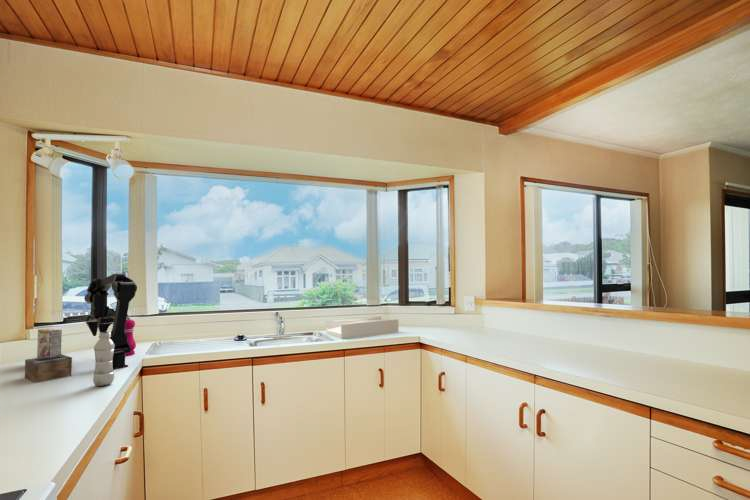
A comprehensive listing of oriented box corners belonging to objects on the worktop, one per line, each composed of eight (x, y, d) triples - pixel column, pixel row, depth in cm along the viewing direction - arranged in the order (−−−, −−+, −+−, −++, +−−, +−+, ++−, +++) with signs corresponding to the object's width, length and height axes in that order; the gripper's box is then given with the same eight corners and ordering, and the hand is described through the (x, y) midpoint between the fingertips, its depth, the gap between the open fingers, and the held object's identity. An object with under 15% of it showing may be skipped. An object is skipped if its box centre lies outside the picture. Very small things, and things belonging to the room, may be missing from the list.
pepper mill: (127, 356, 196) (128, 317, 197) (115, 356, 198) (117, 317, 199) (139, 353, 203) (140, 315, 205) (127, 353, 205) (128, 315, 206)
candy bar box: (35, 364, 181) (37, 329, 182) (48, 362, 186) (49, 327, 187) (48, 366, 177) (50, 330, 178) (61, 364, 181) (62, 329, 182)
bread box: (341, 339, 243) (341, 324, 244) (326, 335, 262) (326, 321, 263) (398, 333, 268) (398, 319, 268) (381, 329, 286) (380, 316, 287)
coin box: (60, 371, 167) (61, 354, 168) (71, 375, 161) (71, 357, 161) (24, 378, 157) (25, 359, 158) (34, 382, 151) (35, 363, 151)
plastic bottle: (118, 383, 149) (119, 331, 150) (100, 388, 142) (102, 334, 143) (106, 382, 151) (107, 330, 152) (88, 387, 144) (90, 333, 145)
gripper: (127, 304, 188) (126, 336, 187) (109, 302, 198) (108, 332, 198) (101, 305, 179) (100, 339, 178) (84, 304, 189) (83, 336, 188)
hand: (98, 336), depth 186 cm, fingers open, 9 cm apart
